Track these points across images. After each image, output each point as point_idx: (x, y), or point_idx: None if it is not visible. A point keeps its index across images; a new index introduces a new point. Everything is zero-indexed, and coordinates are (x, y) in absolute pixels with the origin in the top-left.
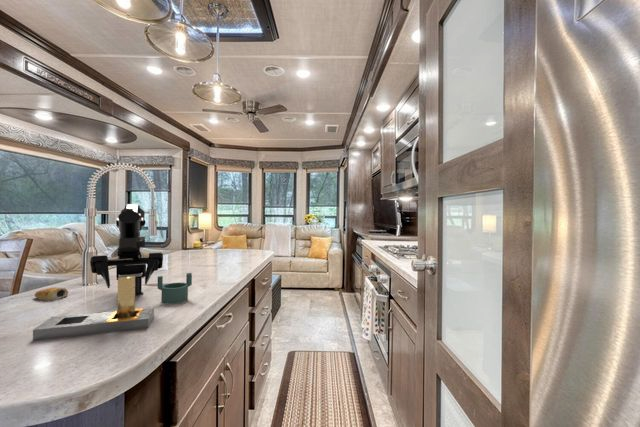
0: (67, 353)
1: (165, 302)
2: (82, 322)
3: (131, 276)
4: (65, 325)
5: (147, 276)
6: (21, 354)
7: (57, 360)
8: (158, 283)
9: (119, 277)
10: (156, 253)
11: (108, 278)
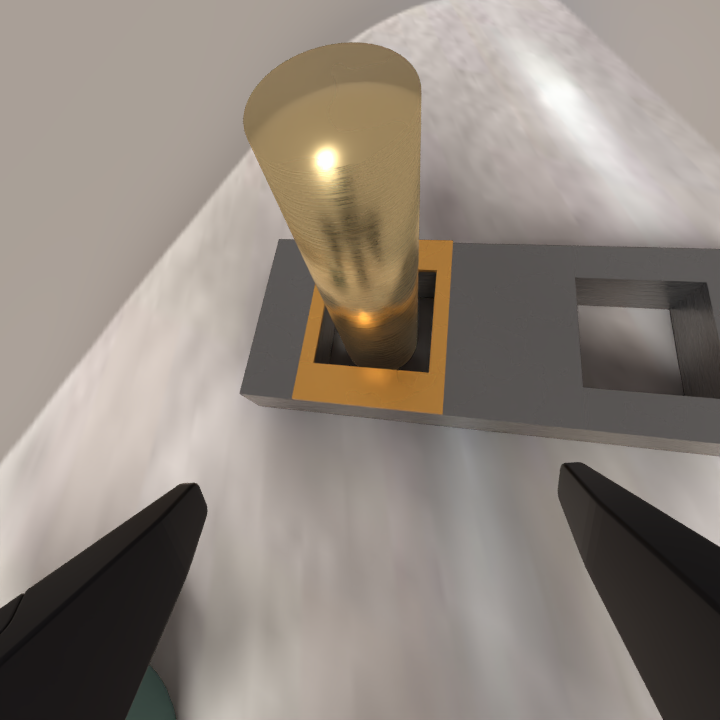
0: (521, 142)
1: (159, 687)
2: (570, 280)
3: (281, 116)
4: (641, 263)
5: (115, 535)
6: (683, 169)
7: (530, 109)
8: None
9: (404, 91)
10: None
11: (648, 534)
